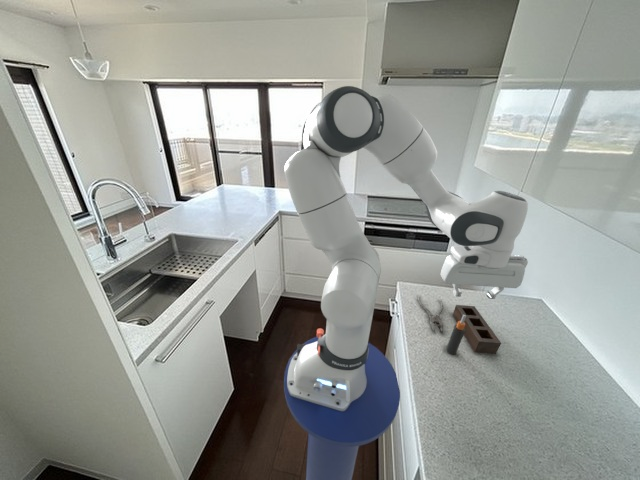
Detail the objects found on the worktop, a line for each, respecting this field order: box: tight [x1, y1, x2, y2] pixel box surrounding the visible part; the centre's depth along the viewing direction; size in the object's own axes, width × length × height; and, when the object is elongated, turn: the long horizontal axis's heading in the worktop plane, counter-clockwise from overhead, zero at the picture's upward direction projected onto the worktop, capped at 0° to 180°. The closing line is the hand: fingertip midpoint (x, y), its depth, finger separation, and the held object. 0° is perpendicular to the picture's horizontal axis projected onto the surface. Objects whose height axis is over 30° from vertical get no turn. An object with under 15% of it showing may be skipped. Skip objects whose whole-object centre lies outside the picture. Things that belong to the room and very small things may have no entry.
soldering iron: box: [445, 315, 466, 355], centre depth 80 cm, size 3×3×15 cm
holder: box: [452, 304, 502, 355], centre depth 90 cm, size 7×18×5 cm, turn 176°
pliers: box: [417, 295, 444, 334], centre depth 99 cm, size 10×1×20 cm
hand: (473, 296), depth 73 cm, fingers open, 8 cm apart
